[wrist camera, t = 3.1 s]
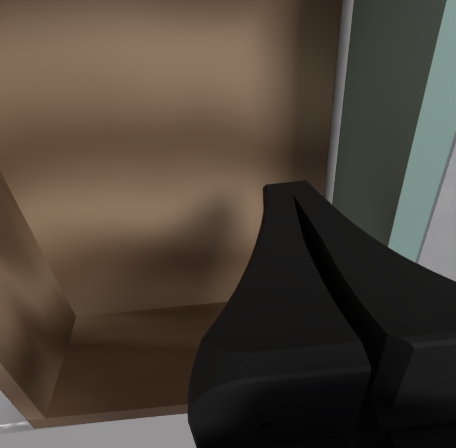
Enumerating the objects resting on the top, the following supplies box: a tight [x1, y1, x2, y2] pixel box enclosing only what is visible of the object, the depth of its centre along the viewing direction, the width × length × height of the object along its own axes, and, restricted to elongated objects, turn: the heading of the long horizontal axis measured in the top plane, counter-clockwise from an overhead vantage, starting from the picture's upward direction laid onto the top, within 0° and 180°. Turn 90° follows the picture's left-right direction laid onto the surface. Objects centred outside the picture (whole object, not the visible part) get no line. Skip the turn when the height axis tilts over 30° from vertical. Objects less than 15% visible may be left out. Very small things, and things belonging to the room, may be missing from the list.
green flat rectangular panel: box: [332, 0, 456, 264], centre depth 13 cm, size 17×2×6 cm, turn 5°
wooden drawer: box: [0, 0, 342, 428], centre depth 14 cm, size 20×14×7 cm
